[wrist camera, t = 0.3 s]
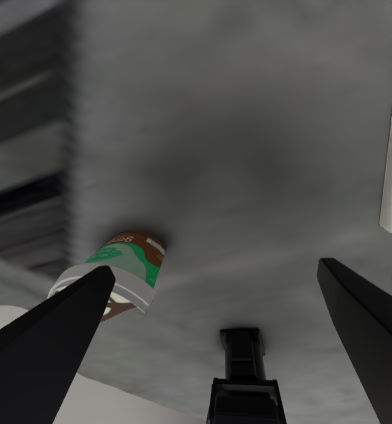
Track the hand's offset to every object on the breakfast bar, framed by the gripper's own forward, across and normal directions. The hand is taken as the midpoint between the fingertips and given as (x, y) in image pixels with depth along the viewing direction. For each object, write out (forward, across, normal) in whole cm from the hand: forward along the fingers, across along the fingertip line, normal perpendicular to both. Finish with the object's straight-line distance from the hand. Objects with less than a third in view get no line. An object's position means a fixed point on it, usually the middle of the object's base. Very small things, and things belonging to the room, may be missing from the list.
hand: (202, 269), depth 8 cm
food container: (+13, +14, +8) cm, 21 cm away
